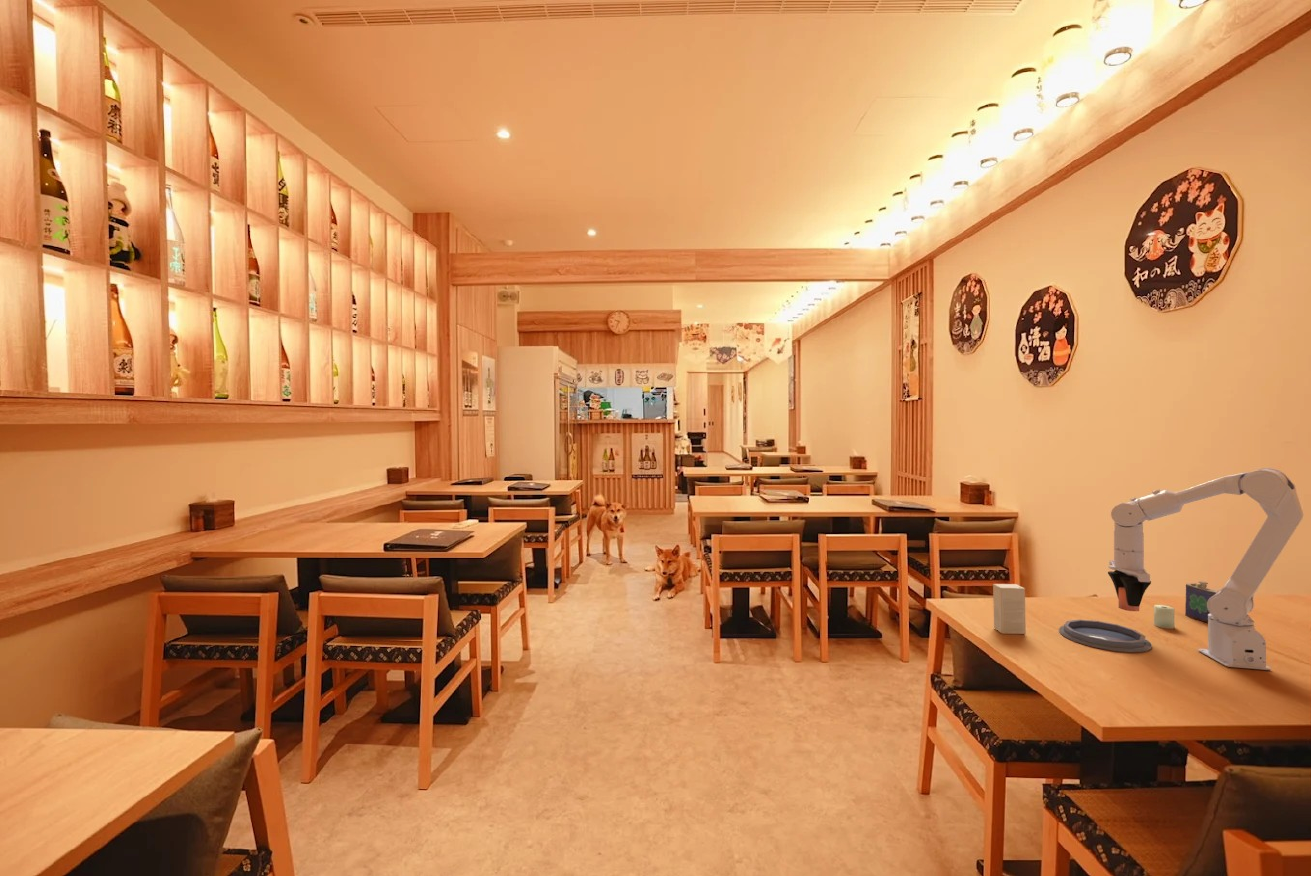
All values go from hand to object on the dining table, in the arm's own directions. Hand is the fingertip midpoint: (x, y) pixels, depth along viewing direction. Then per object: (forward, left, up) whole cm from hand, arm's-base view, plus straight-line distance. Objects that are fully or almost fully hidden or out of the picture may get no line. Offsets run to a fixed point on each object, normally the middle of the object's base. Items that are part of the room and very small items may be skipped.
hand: (1128, 603), depth 140 cm
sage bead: (+11, -13, -8) cm, 19 cm away
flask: (+19, -26, -9) cm, 33 cm away
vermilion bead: (0, 0, -1) cm, 1 cm away
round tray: (-3, +7, -8) cm, 11 cm away
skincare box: (-3, +28, -9) cm, 29 cm away
